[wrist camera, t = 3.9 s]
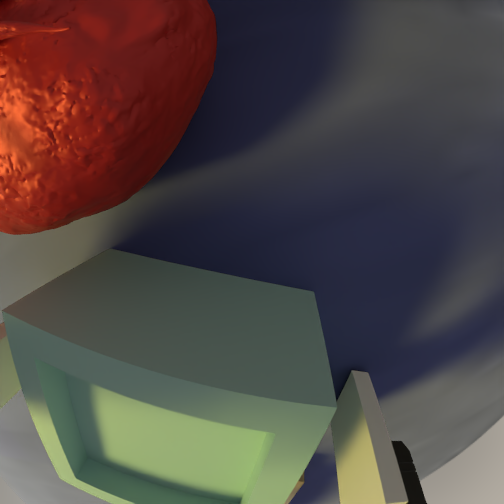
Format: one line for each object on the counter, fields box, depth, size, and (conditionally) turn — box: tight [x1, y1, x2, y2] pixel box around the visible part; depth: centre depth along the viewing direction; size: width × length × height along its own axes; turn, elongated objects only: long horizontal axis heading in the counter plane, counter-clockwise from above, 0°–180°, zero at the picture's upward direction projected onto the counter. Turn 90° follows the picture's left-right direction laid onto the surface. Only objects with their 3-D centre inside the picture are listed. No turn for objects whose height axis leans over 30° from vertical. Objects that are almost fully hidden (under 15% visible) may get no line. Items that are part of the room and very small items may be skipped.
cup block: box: [2, 249, 337, 504], centre depth 10 cm, size 8×8×6 cm
